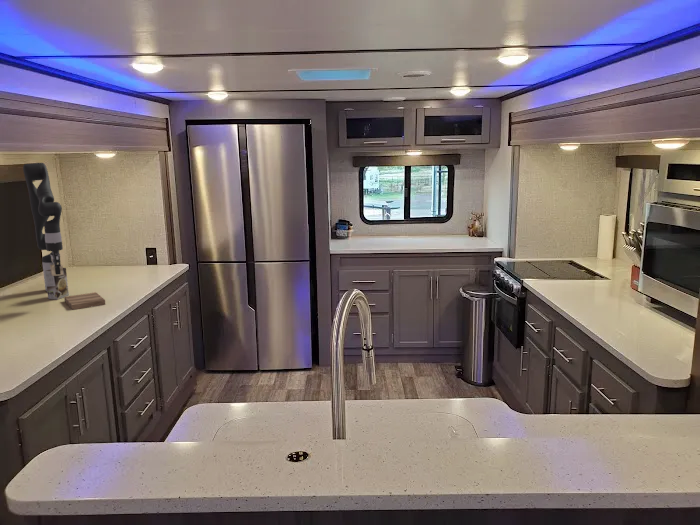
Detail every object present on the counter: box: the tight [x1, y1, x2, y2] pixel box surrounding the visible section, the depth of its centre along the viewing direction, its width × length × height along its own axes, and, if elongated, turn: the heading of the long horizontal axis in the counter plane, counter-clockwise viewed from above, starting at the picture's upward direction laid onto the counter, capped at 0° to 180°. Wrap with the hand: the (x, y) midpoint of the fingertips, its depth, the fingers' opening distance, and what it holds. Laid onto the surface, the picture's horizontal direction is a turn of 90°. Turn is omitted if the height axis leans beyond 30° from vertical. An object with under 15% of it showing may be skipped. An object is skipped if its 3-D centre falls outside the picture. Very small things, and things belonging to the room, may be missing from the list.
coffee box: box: [45, 267, 70, 300], centre depth 304 cm, size 9×6×16 cm
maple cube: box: [50, 263, 64, 276], centre depth 286 cm, size 5×5×5 cm
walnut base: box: [63, 291, 106, 311], centre depth 294 cm, size 20×16×2 cm
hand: (57, 273), depth 286 cm, fingers closed on maple cube, 5 cm apart
